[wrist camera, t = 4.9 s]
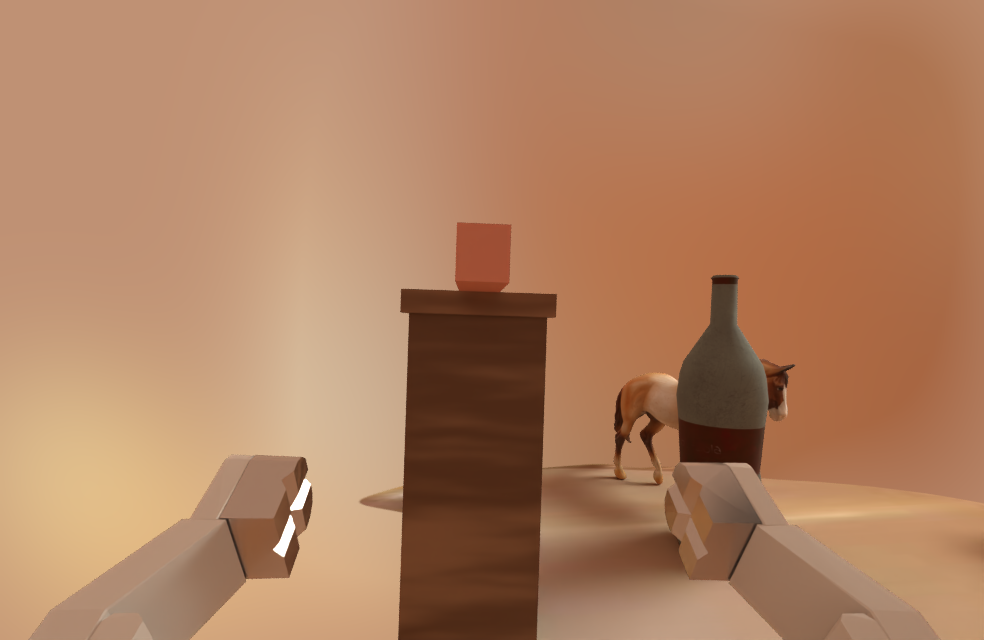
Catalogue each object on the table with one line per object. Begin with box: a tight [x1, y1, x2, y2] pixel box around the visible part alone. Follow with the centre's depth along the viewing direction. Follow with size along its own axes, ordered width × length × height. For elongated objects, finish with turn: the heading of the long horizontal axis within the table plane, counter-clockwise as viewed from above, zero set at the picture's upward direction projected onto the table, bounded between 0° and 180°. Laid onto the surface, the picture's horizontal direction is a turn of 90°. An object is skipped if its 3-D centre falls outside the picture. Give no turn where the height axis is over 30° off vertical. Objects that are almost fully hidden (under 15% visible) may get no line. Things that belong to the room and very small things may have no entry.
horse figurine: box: [613, 359, 795, 484], centre depth 71 cm, size 31×8×21 cm, turn 25°
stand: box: [398, 289, 557, 640], centre depth 39 cm, size 14×10×26 cm
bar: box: [455, 223, 511, 292], centre depth 35 cm, size 22×3×3 cm, turn 2°
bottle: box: [676, 275, 769, 544], centre depth 55 cm, size 9×9×30 cm
